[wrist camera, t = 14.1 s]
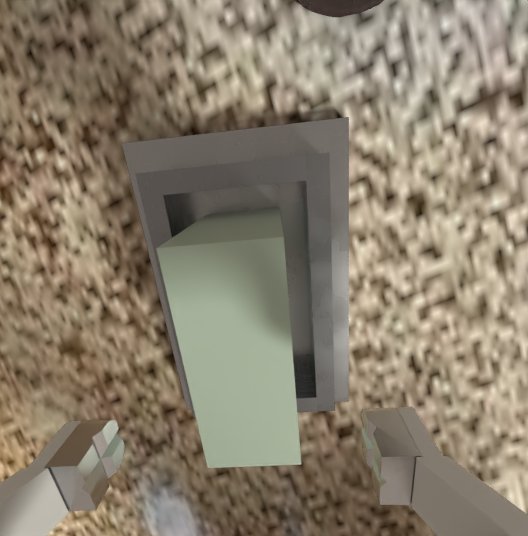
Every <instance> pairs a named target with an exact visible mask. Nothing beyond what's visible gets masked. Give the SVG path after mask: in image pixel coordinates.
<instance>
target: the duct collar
mask: <svg viewBox="0 0 528 536" xmlns="http://www.w3.org/2000/svg"><path fill="white" fill-rule="evenodd" d="M122 146H123V150H124V154H125V158H126V162H127V166H128V170H129V175H130V179H131V183H132V187H133V191H134V195H135V199H136V203H137V207H138V211H139V215H140V219H141V224H142V228H143V232H144V236H145V240H146V244H147V248H148V252H149V256H150V260H151V264H152V268H153V272H154V277H155V281H156V285H157V289H158V293H159V297H160V301H161V305H162V309H163V313H164V317H165V321H166V326H167V330H168V334H169V338H170V342H171V346H172V350H173V354H174V358H175V362H176V366H177V370H178V374H179V379H180V383H181V387H182V391H183V395H184V399H185V403H186V407H187V410H188V409H191V410H192V414H193V417H196V416H195V412H194V407H193V403H192V399H191V395H190V390H189V386H188V382H187V377H186V373H185V369H184V365H183V360H182V356H181V352H180V348H179V343H178V339H177V335H176V330H175V326H174V322H173V318H172V313H171V309H170V305H169V301H168V296H167V292H166V288H165V283H164V279H163V275H162V271H161V266H160V262H159V258H158V253H157V249H156V248H158V247H159V246H161V245H162V244H164V243H165V242H167V241H168V240H170V239H171V238H173V237H174V236H176V235H177V234H179V233H180V232H182V231H183V230H185V229H186V228H188V227H189V226H191V225H192V224H194V223H195V222H197V221H198V220H200V219H201V218H203V217H204V216H206V215H208V214H218V213H228V212H239V211H249V210H259V209H270V208H279V210H280V216H281V223H282V229H283V236H284V247H285V260H286V273H287V286H288V299H289V312H290V325H291V338H292V351H293V364H294V377H295V390H296V402H297V412H312V411H332V410H335V402H342V401H349V117H345V118H336V119H328V120H319V121H310V122H302V123H293V124H285V125H276V126H267V127H259V128H250V129H241V130H233V131H224V132H216V133H207V134H198V135H190V136H181V137H172V138H164V139H155V140H146V141H138V142H129V143H122Z"/></svg>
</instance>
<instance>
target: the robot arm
mask: <svg viewBox="0 0 528 536" xmlns="http://www.w3.org/2000/svg"><path fill="white" fill-rule="evenodd" d="M361 420H362V423H363V426H364V427H363V428H362V429H361V441H362V448H363V452H364V456H365V460H366V463H367V465H368V466H369V467H370V468H371V469H372V482H373V485H374V489H375V492H376V495H377V498H378V501H379V504H380V505H411V507H412V508H413V509H414V511H415V512H416V513H417V514H418V515H419V516H420V517H421V518H422V520H423V521H424V522H425V523H426V524H427V525H428V526H429V527H430V529H431V530H432V531H433V532H434V533H435V534H436V535H437V536H528V515H527V514H526V513H525V512H523V511H522V510H520V509H519V508H518V507H516V506H515V505H514V504H512V503H511V502H510V501H508V500H507V499H506V498H504V497H503V496H501V495H500V494H499V493H497V492H496V491H495V490H493V489H492V488H491V487H489V486H488V485H487V484H485V483H484V482H482V481H481V480H480V479H478V478H477V477H476V476H474V475H473V474H472V473H470V472H469V471H468V470H466V469H465V468H463V467H462V466H461V465H459V464H458V463H457V462H455V461H454V460H453V459H451V458H450V457H449V456H442V454H441V453H440V451H439V449H438V448H437V446H436V444H435V443H434V441H433V439H432V438H431V436H430V434H429V432H428V431H427V429H426V427H425V426H424V424H423V422H422V421H421V419H420V417H419V416H418V414H417V412H416V411H415V409H414V408H412V407H396V408H376V409H362V412H361ZM118 429H119V427H118V425H117V422H116V421H114V420H84V421H69V422H68V423H66V424H64V426H63V427H62V428H61V429H60V430H59V431H58V433H57V434H56V435H55V436H54V437H53V438H52V440H51V441H50V442H49V443H48V444H47V445H46V447H45V448H44V449H43V450H42V451H41V453H40V454H39V455H38V456H37V457H36V458H35V460H34V461H33V462H32V463H31V464H30V465H29V467H28V468H27V469H21V470H20V471H18V472H17V473H15V474H14V475H12V476H11V477H9V478H8V479H6V480H5V481H3V482H1V483H0V536H46V535H47V534H48V533H49V532H50V531H51V530H52V529H53V528H54V527H55V526H56V525H57V524H58V523H59V522H60V521H61V520H62V519H63V518H64V517H65V516H66V515H67V514H68V513H69V511H80V510H96V509H97V507H98V506H99V504H100V502H101V500H102V498H103V496H104V495H105V493H106V491H107V489H108V487H109V478H110V477H111V476H112V475H113V474H114V473H115V472H117V470H118V468H119V466H120V464H121V463H122V459H123V455H124V442H123V439H122V438H121V437H120V436H119V435H118V434H116V433H117V431H118Z"/></svg>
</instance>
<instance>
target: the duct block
mask: <svg viewBox="0 0 528 536" xmlns="http://www.w3.org/2000/svg"><path fill="white" fill-rule="evenodd" d="M156 249H157V253H158V258H159V262H160V266H161V271H162V275H163V279H164V283H165V288H166V292H167V296H168V301H169V305H170V309H171V313H172V318H173V322H174V326H175V330H176V335H177V339H178V343H179V348H180V352H181V356H182V360H183V365H184V369H185V373H186V377H187V382H188V386H189V390H190V395H191V399H192V403H193V407H194V412H195V416H196V420H197V424H198V429H199V433H200V437H201V442H202V446H203V450H204V454H205V459H206V463H207V467H208V468H222V467H249V466H275V465H301V454H300V441H299V428H298V415H297V402H296V390H295V377H294V364H293V351H292V338H291V325H290V312H289V299H288V286H287V273H286V260H285V247H284V236H283V229H282V223H281V216H280V210H279V208H270V209H259V210H249V211H239V212H228V213H218V214H208V215H206V216H204V217H203V218H201V219H200V220H198V221H197V222H195V223H194V224H192V225H191V226H189V227H188V228H186V229H185V230H183V231H182V232H180V233H179V234H177V235H176V236H174V237H173V238H171V239H170V240H168V241H167V242H165V243H164V244H162V245H161V246H159V247H158V248H156Z"/></svg>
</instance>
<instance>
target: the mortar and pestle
mask: <svg viewBox="0 0 528 536" xmlns="http://www.w3.org/2000/svg"><path fill="white" fill-rule="evenodd" d="M298 1H299V2H300V3H301V5H303V6H306V7H307V8H308V9H309V10H311V11H313V12H315V13H318V14H322V15H326V16H331V17H343V16H347V15H352V14H357V13H360V12H363V11H366V10H368V9H371V8H372V7H374V6H377V5H379V4H380V3H381V2H382V1H383V0H298Z"/></svg>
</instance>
